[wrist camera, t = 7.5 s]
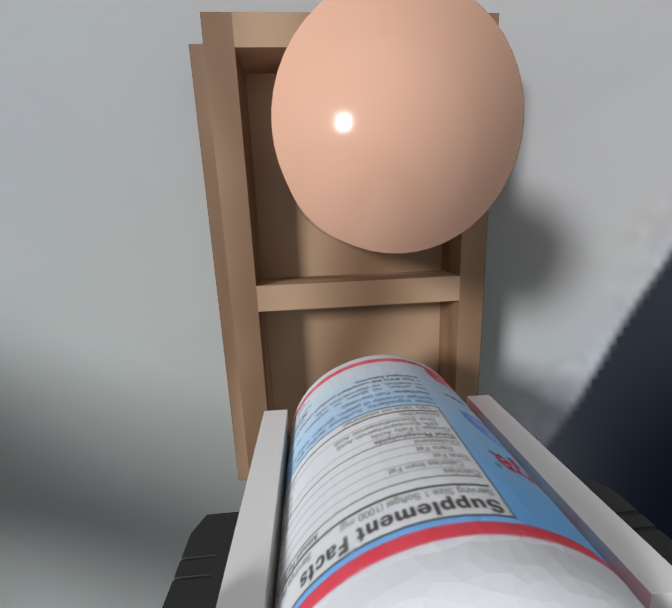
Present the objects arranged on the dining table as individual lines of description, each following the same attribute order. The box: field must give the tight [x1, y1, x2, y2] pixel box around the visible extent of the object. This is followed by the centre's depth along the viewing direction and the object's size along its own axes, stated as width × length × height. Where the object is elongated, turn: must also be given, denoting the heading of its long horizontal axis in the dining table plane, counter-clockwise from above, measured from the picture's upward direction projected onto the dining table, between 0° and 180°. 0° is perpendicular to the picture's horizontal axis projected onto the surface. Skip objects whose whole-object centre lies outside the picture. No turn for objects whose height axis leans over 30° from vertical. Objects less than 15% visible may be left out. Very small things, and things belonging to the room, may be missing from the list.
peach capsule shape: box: [271, 0, 524, 253], centre depth 11 cm, size 5×5×8 cm
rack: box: [189, 12, 499, 480], centre depth 15 cm, size 12×19×3 cm, turn 2°
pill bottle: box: [274, 355, 645, 608], centre depth 7 cm, size 6×6×11 cm
